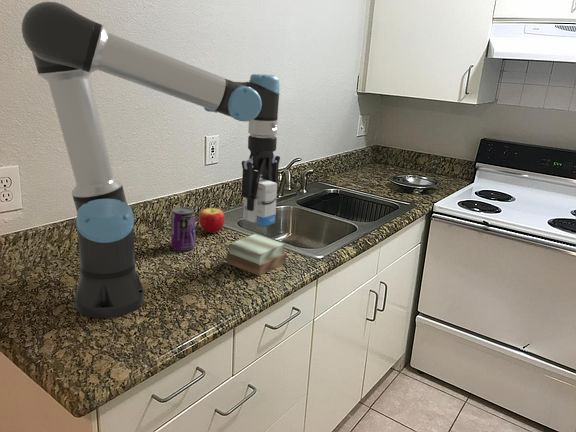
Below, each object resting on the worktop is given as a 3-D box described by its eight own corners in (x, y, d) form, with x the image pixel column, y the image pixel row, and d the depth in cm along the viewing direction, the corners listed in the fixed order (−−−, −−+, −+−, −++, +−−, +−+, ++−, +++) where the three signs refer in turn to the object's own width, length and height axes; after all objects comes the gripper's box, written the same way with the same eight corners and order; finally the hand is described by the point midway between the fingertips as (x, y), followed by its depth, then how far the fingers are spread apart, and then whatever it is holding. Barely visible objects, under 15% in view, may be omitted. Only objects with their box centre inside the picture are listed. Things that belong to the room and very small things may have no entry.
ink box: (276, 223, 134) (278, 182, 130) (263, 227, 131) (265, 185, 127) (255, 215, 140) (256, 175, 136) (242, 219, 136) (243, 178, 132)
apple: (220, 226, 166) (221, 198, 163) (227, 235, 159) (227, 206, 156) (196, 228, 163) (196, 199, 160) (202, 237, 156) (202, 207, 152)
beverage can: (189, 253, 142) (189, 215, 139) (167, 250, 144) (166, 212, 140) (198, 245, 149) (199, 208, 145) (177, 242, 150) (176, 205, 146)
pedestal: (259, 275, 131) (260, 255, 129) (226, 263, 138) (227, 243, 136) (285, 262, 140) (286, 243, 139) (254, 251, 147) (254, 232, 145)
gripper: (250, 141, 118) (247, 230, 126) (294, 134, 133) (289, 214, 140) (228, 136, 122) (226, 223, 130) (272, 130, 137) (269, 208, 144)
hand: (259, 218), depth 135 cm, fingers closed on ink box, 5 cm apart
